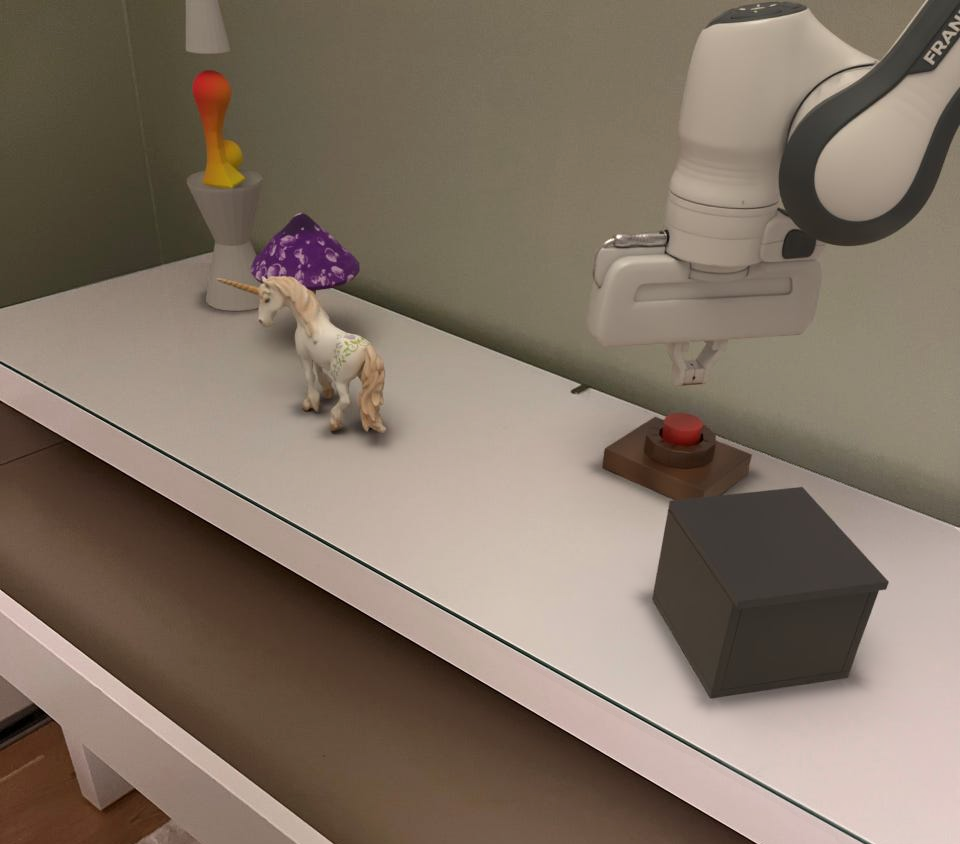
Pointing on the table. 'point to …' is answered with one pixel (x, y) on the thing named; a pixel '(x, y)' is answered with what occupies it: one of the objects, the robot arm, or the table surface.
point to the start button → (682, 429)
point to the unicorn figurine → (324, 350)
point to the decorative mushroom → (306, 256)
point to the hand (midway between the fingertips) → (688, 382)
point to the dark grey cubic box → (752, 627)
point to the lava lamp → (222, 170)
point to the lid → (775, 547)
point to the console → (676, 462)
